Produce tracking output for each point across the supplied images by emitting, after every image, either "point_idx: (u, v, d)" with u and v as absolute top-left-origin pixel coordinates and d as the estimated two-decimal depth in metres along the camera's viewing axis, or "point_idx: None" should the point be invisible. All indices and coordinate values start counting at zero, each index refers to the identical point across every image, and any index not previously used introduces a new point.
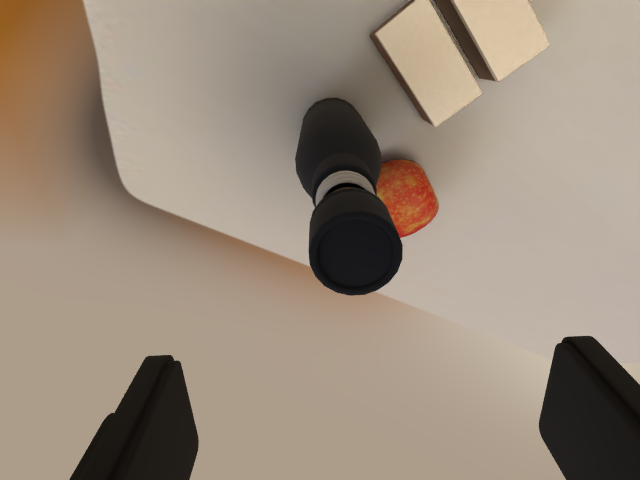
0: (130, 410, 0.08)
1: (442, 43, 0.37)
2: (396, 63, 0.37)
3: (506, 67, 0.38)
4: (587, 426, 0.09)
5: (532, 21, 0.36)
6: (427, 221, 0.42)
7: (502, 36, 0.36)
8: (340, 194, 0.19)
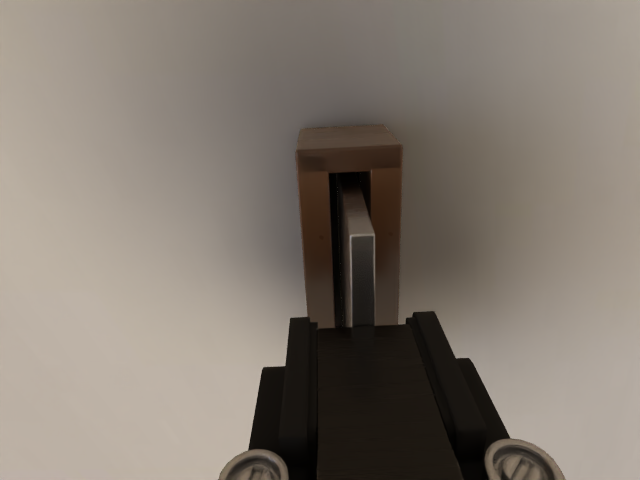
0: (299, 359, 0.09)
1: None
2: None
3: None
4: None
5: None
6: None
7: None
8: None
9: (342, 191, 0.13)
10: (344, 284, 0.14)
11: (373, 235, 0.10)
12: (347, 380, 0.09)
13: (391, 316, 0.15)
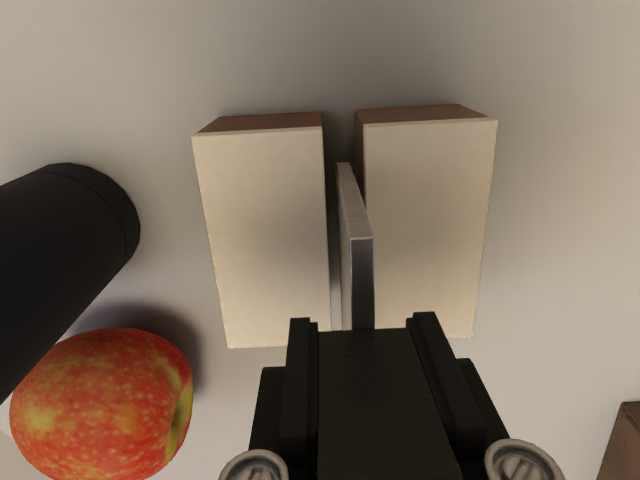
0: (299, 359, 0.09)
1: (307, 233, 0.18)
2: (206, 213, 0.17)
3: None
4: None
5: (468, 291, 0.19)
6: None
7: (411, 283, 0.19)
8: None
9: (342, 196, 0.13)
10: (344, 289, 0.14)
11: (373, 238, 0.10)
12: (348, 381, 0.09)
13: None
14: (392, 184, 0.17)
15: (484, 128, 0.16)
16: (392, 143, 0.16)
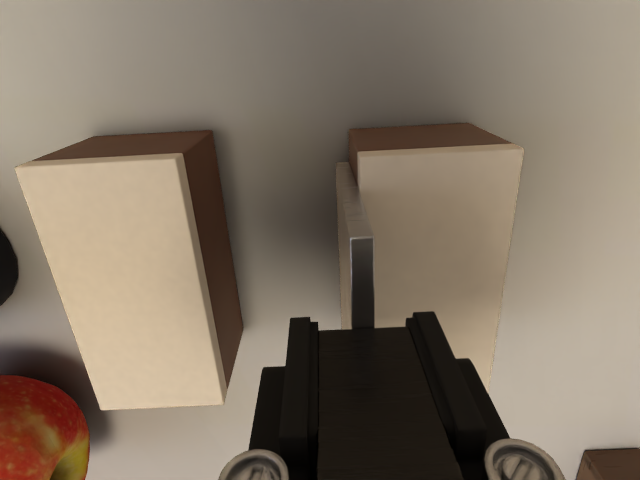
0: (299, 359, 0.09)
1: (174, 280, 0.15)
2: (48, 258, 0.14)
3: None
4: None
5: (483, 346, 0.16)
6: None
7: None
8: None
9: (342, 196, 0.13)
10: (344, 288, 0.14)
11: (372, 238, 0.10)
12: (348, 380, 0.09)
13: None
14: (393, 224, 0.14)
15: (506, 158, 0.13)
16: (393, 176, 0.13)
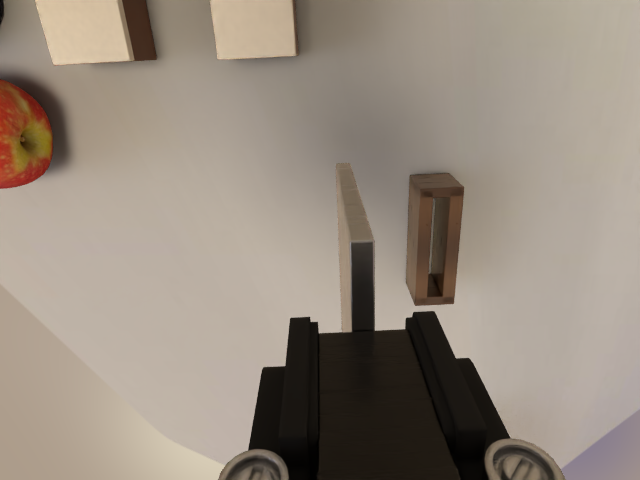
0: (299, 359, 0.09)
1: None
2: None
3: (233, 47, 0.27)
4: None
5: (285, 9, 0.26)
6: None
7: (242, 2, 0.26)
8: None
9: (342, 198, 0.13)
10: (344, 290, 0.14)
11: (372, 241, 0.10)
12: (348, 384, 0.09)
13: (454, 261, 0.34)
14: None
15: None
16: None
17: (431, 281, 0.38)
